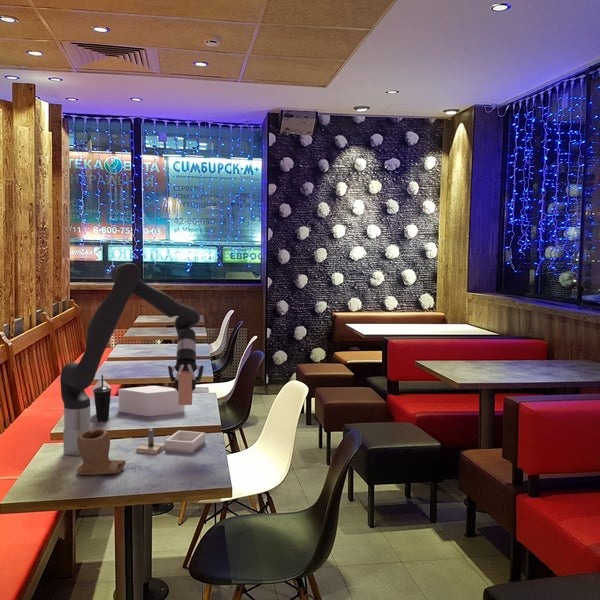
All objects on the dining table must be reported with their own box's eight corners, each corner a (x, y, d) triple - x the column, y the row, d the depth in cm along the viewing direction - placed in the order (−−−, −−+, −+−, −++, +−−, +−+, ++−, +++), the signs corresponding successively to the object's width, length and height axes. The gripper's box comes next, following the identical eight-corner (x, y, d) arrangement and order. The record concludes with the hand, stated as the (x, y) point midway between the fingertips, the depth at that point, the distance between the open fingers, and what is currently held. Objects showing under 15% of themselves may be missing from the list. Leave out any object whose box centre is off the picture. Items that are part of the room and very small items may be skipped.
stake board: (156, 454, 241) (156, 450, 241) (136, 452, 243) (136, 448, 243) (165, 447, 249) (165, 443, 249) (145, 445, 250) (145, 441, 250)
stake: (153, 447, 244) (153, 430, 244) (147, 447, 244) (147, 430, 244) (153, 444, 247) (153, 428, 246) (148, 444, 247) (148, 428, 246)
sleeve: (191, 404, 247) (191, 373, 245) (178, 405, 246) (178, 373, 245) (192, 401, 252) (192, 371, 250) (179, 401, 251) (178, 371, 250)
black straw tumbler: (112, 415, 292) (111, 380, 291) (92, 416, 289) (92, 381, 288) (110, 410, 300) (110, 376, 299) (91, 412, 297) (91, 377, 295)
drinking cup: (115, 419, 285) (115, 374, 283) (102, 423, 278) (101, 377, 277) (103, 417, 289) (102, 372, 287) (89, 421, 282) (89, 375, 280)
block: (122, 407, 306) (122, 385, 305) (186, 408, 307) (186, 385, 306) (114, 416, 291) (114, 392, 290) (182, 416, 292) (182, 393, 291)
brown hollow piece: (71, 480, 214) (71, 435, 213) (81, 467, 226) (81, 425, 225) (118, 479, 215) (118, 435, 214) (126, 467, 227) (125, 425, 226)
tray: (192, 453, 243) (192, 442, 242) (165, 450, 245) (165, 440, 245) (205, 442, 255) (205, 432, 255) (178, 440, 258) (178, 430, 257)
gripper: (167, 347, 253) (165, 385, 242) (204, 347, 255) (204, 384, 244) (168, 358, 259) (166, 395, 248) (204, 358, 261) (204, 395, 250)
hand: (185, 390), depth 246 cm, fingers closed on sleeve, 5 cm apart
